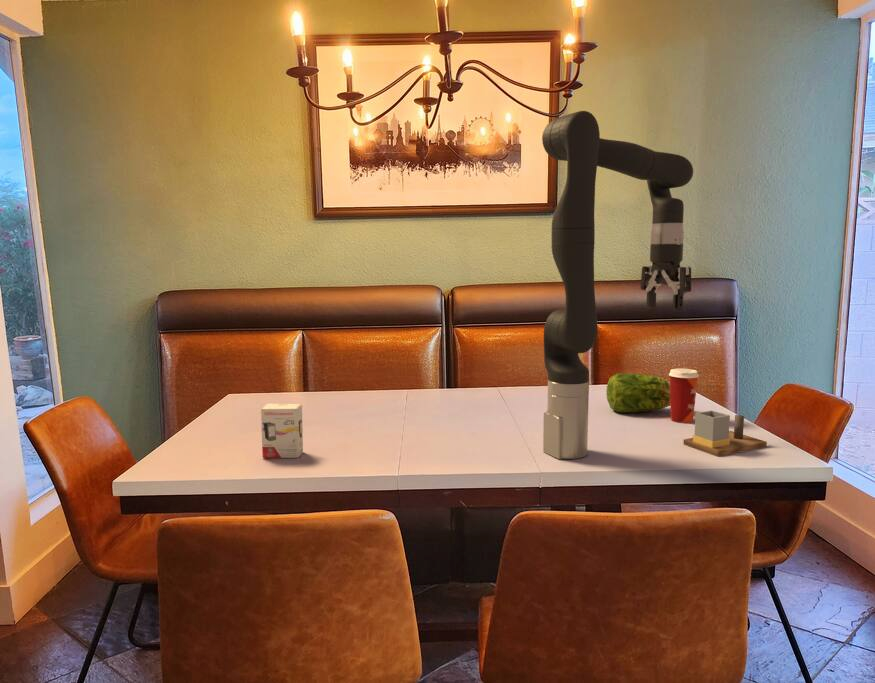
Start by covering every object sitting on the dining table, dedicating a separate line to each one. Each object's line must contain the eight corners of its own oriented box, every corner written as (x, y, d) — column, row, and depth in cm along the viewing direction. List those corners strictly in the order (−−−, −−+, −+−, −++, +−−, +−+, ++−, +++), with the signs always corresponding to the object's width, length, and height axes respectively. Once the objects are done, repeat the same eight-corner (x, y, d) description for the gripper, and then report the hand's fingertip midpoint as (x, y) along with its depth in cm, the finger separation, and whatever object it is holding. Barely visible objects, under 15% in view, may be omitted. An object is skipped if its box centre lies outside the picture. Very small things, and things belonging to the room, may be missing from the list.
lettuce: (686, 416, 171) (687, 377, 169) (612, 417, 172) (613, 377, 170) (671, 406, 182) (673, 369, 181) (602, 407, 183) (603, 370, 181)
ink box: (261, 459, 139) (258, 408, 138) (267, 451, 144) (265, 403, 143) (299, 458, 139) (297, 408, 138) (304, 451, 144) (302, 403, 143)
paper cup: (699, 424, 163) (702, 373, 161) (669, 423, 164) (671, 372, 162) (693, 417, 170) (695, 368, 168) (664, 416, 172) (666, 367, 170)
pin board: (717, 456, 137) (719, 427, 136) (683, 444, 146) (684, 417, 145) (766, 446, 144) (768, 419, 143) (730, 435, 153) (732, 409, 152)
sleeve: (712, 447, 139) (713, 418, 138) (692, 441, 145) (694, 412, 144) (729, 444, 142) (731, 415, 141) (710, 438, 147) (711, 410, 146)
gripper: (634, 243, 153) (632, 307, 155) (677, 241, 140) (674, 311, 142) (657, 243, 156) (654, 306, 158) (701, 241, 143) (698, 310, 145)
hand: (664, 308), depth 150 cm, fingers open, 8 cm apart
